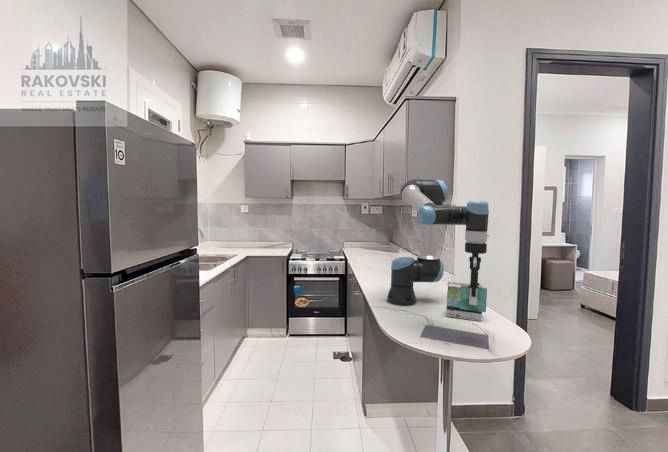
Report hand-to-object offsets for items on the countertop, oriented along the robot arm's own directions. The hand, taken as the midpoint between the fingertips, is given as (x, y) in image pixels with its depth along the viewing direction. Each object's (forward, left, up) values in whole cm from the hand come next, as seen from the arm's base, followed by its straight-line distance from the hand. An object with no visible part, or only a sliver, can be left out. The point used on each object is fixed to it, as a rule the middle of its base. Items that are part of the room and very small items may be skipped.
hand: (473, 303), depth 121 cm
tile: (0, 0, -2) cm, 2 cm away
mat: (-6, -1, -14) cm, 16 cm away
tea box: (-4, +27, -15) cm, 31 cm away
